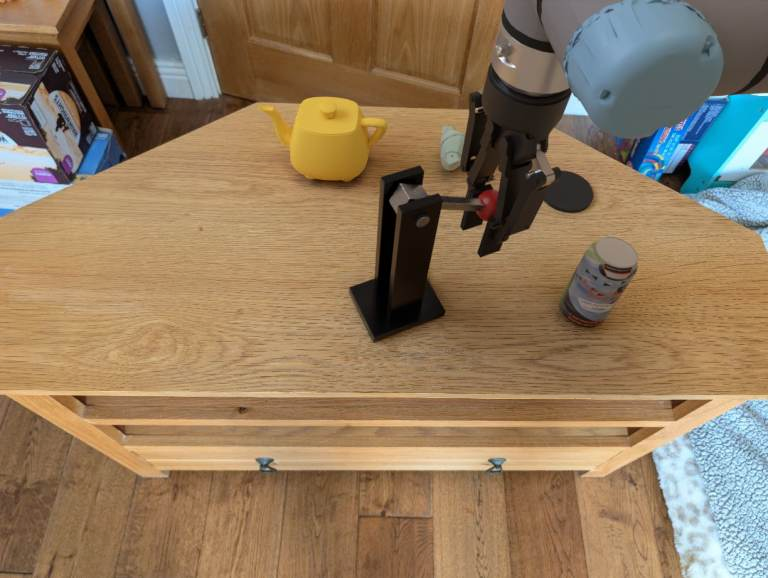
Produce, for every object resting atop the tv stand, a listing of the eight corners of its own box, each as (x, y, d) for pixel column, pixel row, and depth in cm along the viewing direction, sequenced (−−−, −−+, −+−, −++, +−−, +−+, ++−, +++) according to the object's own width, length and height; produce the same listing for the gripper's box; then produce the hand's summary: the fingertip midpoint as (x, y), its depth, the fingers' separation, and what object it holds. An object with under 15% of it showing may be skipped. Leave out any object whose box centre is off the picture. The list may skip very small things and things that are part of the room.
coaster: (602, 203, 83) (604, 201, 83) (558, 219, 81) (559, 216, 81) (572, 167, 87) (573, 164, 87) (529, 181, 85) (530, 178, 85)
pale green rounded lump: (434, 149, 88) (439, 115, 82) (459, 149, 88) (467, 115, 82) (439, 187, 84) (446, 154, 78) (466, 187, 84) (475, 153, 78)
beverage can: (554, 327, 71) (588, 275, 61) (557, 281, 75) (589, 225, 65) (603, 338, 71) (645, 287, 61) (604, 291, 75) (643, 236, 65)
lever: (485, 206, 66) (503, 183, 63) (500, 228, 64) (519, 206, 62) (383, 200, 57) (399, 173, 54) (398, 225, 55) (416, 199, 53)
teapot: (261, 185, 82) (250, 129, 73) (272, 134, 88) (263, 75, 79) (383, 193, 82) (387, 137, 73) (386, 140, 88) (390, 83, 79)
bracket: (417, 268, 75) (438, 147, 57) (444, 315, 72) (476, 202, 53) (348, 292, 73) (347, 173, 54) (373, 342, 69) (381, 233, 51)
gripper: (449, 25, 51) (421, 198, 71) (549, 146, 43) (487, 303, 63) (518, 10, 53) (473, 182, 73) (627, 122, 45) (542, 281, 65)
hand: (479, 238), depth 68 cm, fingers closed on lever, 4 cm apart
